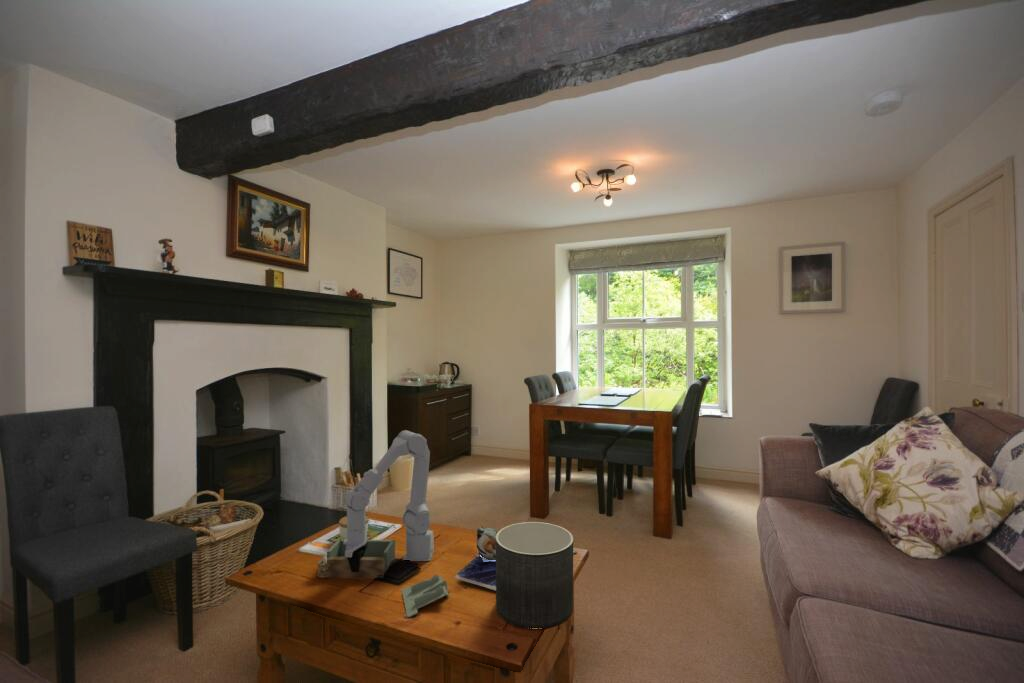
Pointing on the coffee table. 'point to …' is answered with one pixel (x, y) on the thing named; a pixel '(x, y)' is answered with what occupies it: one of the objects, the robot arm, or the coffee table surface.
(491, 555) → the lucky cat figurine
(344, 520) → the lidded jar
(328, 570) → the brown gear-headed lever
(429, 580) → the metal bracket
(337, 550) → the sage green open box
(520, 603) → the planter
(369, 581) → the coffee table surface
